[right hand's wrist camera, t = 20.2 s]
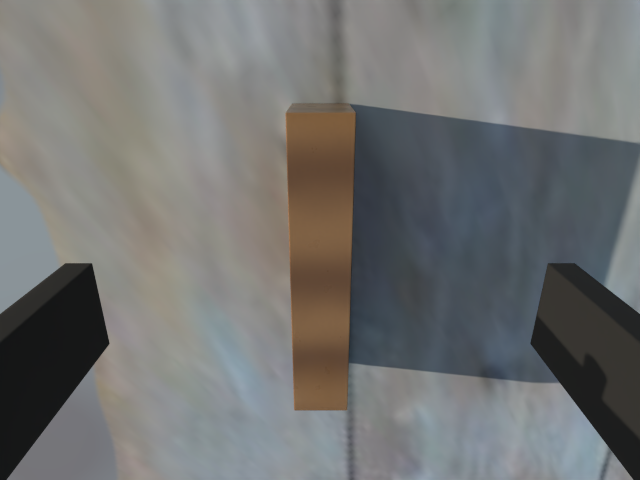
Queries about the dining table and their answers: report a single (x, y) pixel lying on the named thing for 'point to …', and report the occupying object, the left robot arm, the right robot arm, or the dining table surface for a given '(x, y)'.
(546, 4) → the dining table surface
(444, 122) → the dining table surface
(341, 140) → the bar
